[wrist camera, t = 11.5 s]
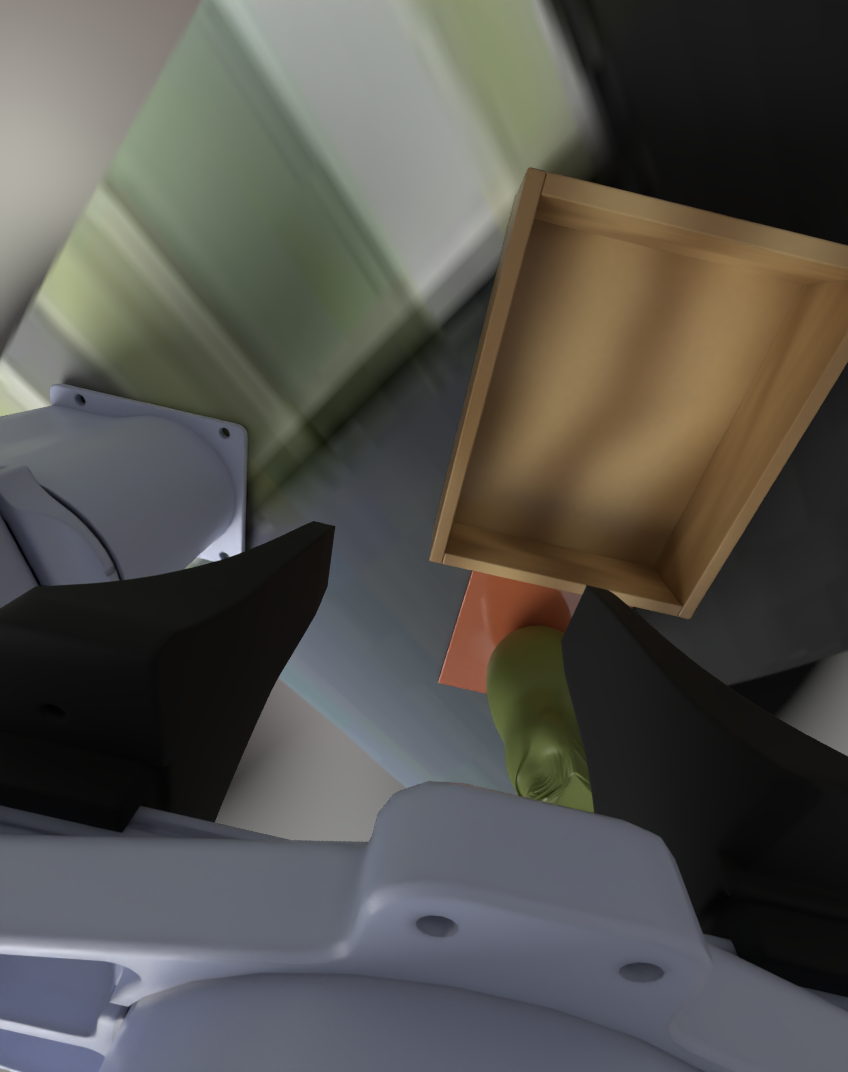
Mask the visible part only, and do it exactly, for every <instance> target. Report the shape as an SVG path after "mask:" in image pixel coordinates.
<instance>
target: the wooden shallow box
mask: <svg viewBox="0 0 848 1072" xmlns="http://www.w3.org/2000/svg"><path fill="white" fill-rule="evenodd" d="M847 362H848V245H844V244H840V243H836V242H832V241H828V240H824V239H820V238H816V237H812V236H808V235H803V234H799V233H795V232H791V231H787V230H783V229H779V228H775V227H771V226H767V225H763V224H759V223H755V222H751V221H747V220H743V219H739V218H735V217H730V216H726V215H722V214H718V213H714V212H710V211H706V210H702V209H698V208H694V207H690V206H686V205H682V204H678V203H674V202H670V201H666V200H661V199H657V198H653V197H649V196H645V195H641V194H637V193H633V192H629V191H625V190H621V189H617V188H613V187H609V186H605V185H601V184H597V183H593V182H588V181H584V180H580V179H576V178H572V177H568V176H564V175H560V174H556V173H552V172H547V174H546V172H545V171H544V170H539V169H535V168H531V167H529V168H528V169H527V171H526V173H525V176H524V178H523V180H522V183H521V185H520V187H519V189H518V192H517V194H516V196H515V199H514V203H513V207H512V211H511V215H510V219H509V223H508V227H507V231H506V235H505V239H504V243H503V247H502V251H501V255H500V260H499V264H498V268H497V272H496V276H495V280H494V284H493V288H492V292H491V296H490V300H489V304H488V308H487V312H486V316H485V320H484V324H483V328H482V333H481V337H480V341H479V345H478V349H477V353H476V357H475V361H474V365H473V369H472V373H471V377H470V381H469V385H468V389H467V393H466V397H465V402H464V406H463V410H462V414H461V418H460V422H459V426H458V430H457V434H456V438H455V442H454V446H453V450H452V454H451V458H450V462H449V466H448V470H447V475H446V479H445V483H444V487H443V491H442V495H441V499H440V503H439V507H438V511H437V515H436V519H435V523H434V529H433V536H432V544H431V551H430V558H429V560H430V561H433V562H438V563H443V564H446V565H451V566H455V567H460V568H464V569H469V570H473V571H477V572H482V573H486V574H491V575H495V576H500V577H504V578H509V579H513V580H517V581H522V582H526V583H531V584H535V585H540V586H544V587H549V588H553V589H558V590H562V591H566V592H571V593H575V594H580V595H582V594H583V592H584V590H585V588H586V585H589V586H594V587H598V588H602V589H606V590H609V591H610V592H612V593H613V594H615V595H616V596H617V597H619V598H620V599H621V600H622V601H623V602H625V603H626V604H627V605H629V606H633V607H638V608H642V609H647V610H651V611H655V612H660V613H664V614H669V615H673V616H678V617H682V618H687V619H690V618H691V617H692V615H693V613H694V612H695V610H696V608H697V607H698V605H699V604H700V602H701V600H702V599H703V597H704V595H705V594H706V592H707V591H708V589H709V587H710V586H711V584H712V582H713V581H714V579H715V578H716V576H717V574H718V573H719V571H720V569H721V568H722V566H723V564H724V563H725V561H726V560H727V558H728V556H729V555H730V553H731V551H732V550H733V548H734V547H735V545H736V543H737V542H738V540H739V538H740V537H741V535H742V534H743V532H744V530H745V529H746V527H747V525H748V524H749V522H750V520H751V519H752V517H753V516H754V514H755V512H756V511H757V509H758V507H759V506H760V504H761V503H762V501H763V499H764V498H765V496H766V494H767V493H768V491H769V490H770V488H771V486H772V485H773V483H774V481H775V480H776V478H777V476H778V475H779V473H780V472H781V470H782V468H783V467H784V465H785V463H786V462H787V460H788V459H789V457H790V455H791V454H792V452H793V450H794V449H795V447H796V446H797V444H798V442H799V441H800V439H801V437H802V436H803V434H804V432H805V431H806V429H807V428H808V426H809V424H810V423H811V421H812V419H813V418H814V416H815V415H816V413H817V411H818V410H819V408H820V406H821V405H822V403H823V402H824V400H825V398H826V397H827V395H828V393H829V392H830V390H831V388H832V387H833V385H834V384H835V382H836V380H837V379H838V377H839V375H840V374H841V372H842V371H843V369H844V367H845V366H846V364H847Z"/></svg>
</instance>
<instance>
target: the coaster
mask: <svg viewBox="0 0 848 1072" xmlns="http://www.w3.org/2000/svg"><path fill="white" fill-rule="evenodd" d="M581 596H582V595H580V594H575V593H571V592H566V591H562V590H558V589H553V588H549V587H544V586H540V585H535V584H531V583H526V582H522V581H517V580H513V579H509V578H504V577H500V576H495V575H491V574H486V573H482V572H477V571H473V570H472V571H471V574H470V577H469V581H468V584H467V587H466V591H465V594H464V597H463V600H462V604H461V607H460V610H459V613H458V617H457V620H456V623H455V626H454V630H453V633H452V636H451V639H450V643H449V646H448V649H447V652H446V656H445V659H444V662H443V665H442V669H441V672H440V675H439V679H438V683H441V684H445V685H450V686H455V687H459V688H464V689H468V690H473V691H477V692H482V693H487V690H486V673H487V667H488V663H489V659H490V657H491V655H492V653H493V651H494V649H495V648H496V646H497V645H498V644H499V642H500V641H501V640H502V639H503V638H504V637H506V636H507V635H508V634H510V633H511V632H513V631H515V630H517V629H520V628H523V627H527V626H535V625H539V626H547V627H551V628H554V629H557V630H559V631H561V632H563V633H565V631H566V629H567V627H568V625H569V622H570V620H571V618H572V616H573V614H574V612H575V609H576V607H577V605H578V603H579V601H580V598H581ZM628 606H629V605H628ZM629 607H630V608H633V606H629Z"/></svg>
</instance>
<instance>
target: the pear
mask: <svg viewBox="0 0 848 1072" xmlns="http://www.w3.org/2000/svg"><path fill="white" fill-rule="evenodd" d="M563 635H564V633H563V632H561V631H559V630H557V629H554V628H551V627H547V626H539V625H535V626H527V627H523V628H520V629H517V630H515V631H513V632H511V633H510V634H508V635H507V636H506V637H504V638H503V639H502V640H501V641H500V642H499V644H498V645H497V646H496V648H495V649H494V651H493V653H492V655H491V657H490V659H489V663H488V667H487V673H486V690H487V697H488V702H489V707H490V710H491V714H492V717H493V720H494V723H495V726H496V728H497V731H498V733H499V735H500V737H501V739H502V740H503V742H504V744H505V762H506V768H507V773H508V776H509V779H510V781H511V783H512V785H513V787H514V788H515V790H516V792H517V794H518V796H521V797H525V798H530V799H534V800H539V801H543V802H547V803H552V804H556V805H560V806H565V807H569V808H574V809H578V810H582V811H587V812H591V813H594V808H593V799H592V793H591V786H590V779H589V773H588V766H587V760H586V756H585V751H584V747H583V743H582V739H581V735H580V731H579V727H578V724H577V720H576V716H575V712H574V709H573V705H572V701H571V697H570V693H569V689H568V685H567V682H566V677H565V673H564V666H563V658H562V646H561V640H562V638H563Z"/></svg>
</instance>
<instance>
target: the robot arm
mask: <svg viewBox="0 0 848 1072" xmlns="http://www.w3.org/2000/svg"><path fill="white" fill-rule="evenodd" d="M81 396H83V397H84V399H85V401H86V402H85V403H84V402H83V401H82V399H81ZM50 397H51V403H52V406H48V407H43V408H39V409H34V410H29V411H24V412H20V413H15V414H10V415H6V416H1V417H0V1068H1V1069H5V1070H8V1071H11V1072H848V756H846V755H844V754H842V753H840V752H838V751H836V750H834V749H832V748H831V747H829V746H827V745H825V744H823V743H821V742H819V741H817V740H816V739H814V738H812V737H810V736H808V735H806V734H804V733H803V732H801V731H799V730H797V729H796V728H794V727H792V726H790V725H788V724H787V723H785V722H783V721H782V720H780V719H778V718H777V717H775V716H773V715H772V714H770V713H768V712H767V711H765V710H763V709H762V708H760V707H758V706H757V705H755V704H754V703H752V702H751V701H749V700H748V699H746V698H744V697H742V696H741V695H739V694H738V693H737V692H735V691H734V690H732V689H731V688H730V687H728V686H727V685H725V684H724V683H722V682H721V681H720V680H718V679H717V678H715V677H714V676H712V675H711V674H710V673H708V672H707V671H706V670H704V669H703V668H702V667H700V666H699V665H698V664H696V663H695V662H694V661H693V660H691V659H690V658H689V657H688V656H686V655H685V654H684V653H683V652H681V651H680V650H679V649H678V648H676V647H675V646H674V645H673V644H672V643H671V642H669V641H668V640H667V639H666V638H665V637H663V636H662V635H661V634H660V633H659V632H658V631H657V630H655V629H654V628H653V627H652V626H651V625H650V624H649V623H647V622H646V621H645V620H644V619H643V618H642V617H641V616H640V615H638V614H637V613H636V612H635V611H634V610H633V609H632V608H630V607H629V606H628V605H627V604H626V603H625V602H623V601H622V600H621V599H620V598H619V597H617V596H616V595H615V594H613V593H612V592H610V591H609V590H606V589H602V588H598V587H594V586H589V585H586V588H585V590H584V592H583V594H582V596H581V598H580V601H579V603H578V605H577V607H576V609H575V612H574V614H573V616H572V618H571V620H570V622H569V625H568V627H567V629H566V631H565V633H564V635H563V638H562V640H561V646H562V658H563V666H564V673H565V677H566V682H567V685H568V689H569V693H570V697H571V701H572V705H573V709H574V712H575V716H576V720H577V724H578V727H579V731H580V735H581V739H582V743H583V747H584V751H585V756H586V760H587V766H588V773H589V779H590V786H591V793H592V799H593V808H594V813H591V812H587V811H582V810H578V809H574V808H569V807H565V806H560V805H556V804H552V803H547V802H543V801H539V800H534V799H530V798H525V797H521V796H517V795H512V794H508V793H504V792H499V791H495V790H491V789H486V788H482V787H477V786H473V785H469V784H464V783H450V782H432V781H428V782H425V783H422V784H419V785H416V786H413V787H410V788H407V789H404V790H400V791H398V792H397V793H395V794H393V795H392V797H391V798H390V799H389V800H388V802H387V803H386V804H385V805H384V806H383V808H382V809H381V810H380V811H379V813H378V815H377V819H376V822H375V826H374V830H373V833H372V837H371V838H370V840H369V842H349V841H348V842H346V841H301V840H300V841H299V840H288V839H284V838H279V837H275V836H271V835H267V834H262V833H258V832H253V831H249V830H245V829H240V828H236V827H231V826H227V825H223V824H218V823H214V822H215V820H216V817H217V815H218V812H219V810H220V807H221V805H222V802H223V800H224V798H225V795H226V793H227V790H228V788H229V786H230V783H231V781H232V779H233V776H234V774H235V771H236V769H237V767H238V764H239V762H240V760H241V757H242V755H243V753H244V750H245V748H246V746H247V744H248V741H249V739H250V737H251V734H252V732H253V730H254V727H255V725H256V723H257V721H258V719H259V717H260V714H261V712H262V710H263V708H264V705H265V703H266V701H267V699H268V697H269V695H270V693H271V690H272V688H273V687H274V685H275V683H276V681H277V679H278V677H279V675H280V674H281V672H282V670H283V669H284V667H285V665H286V664H287V662H288V660H289V659H290V657H291V655H292V654H293V652H294V650H295V649H296V647H297V645H298V644H299V642H300V640H301V639H302V637H303V635H304V634H305V632H306V630H307V628H308V627H309V625H310V623H311V622H312V620H313V618H314V616H315V615H316V612H317V610H318V608H319V605H320V603H321V601H322V598H323V596H324V593H325V591H326V588H327V585H328V577H329V570H330V562H331V554H332V546H333V539H334V531H335V526H332V525H328V524H323V523H319V522H315V521H313V522H311V523H308V524H306V525H304V526H301V527H299V528H297V529H295V530H293V531H291V532H289V533H287V534H285V535H282V536H280V537H278V538H276V539H274V540H271V541H269V542H267V543H265V544H262V545H260V546H257V547H255V548H252V549H249V550H247V551H245V529H246V491H247V452H248V434H247V431H246V429H245V428H244V427H243V426H242V425H240V424H237V423H232V422H228V421H224V420H219V419H215V418H211V417H206V416H202V415H197V414H193V413H189V412H184V411H180V410H176V409H171V408H167V407H163V406H158V405H154V404H150V403H145V402H141V401H137V400H132V399H128V398H123V397H119V396H115V395H110V394H106V393H102V392H97V391H93V390H89V389H84V388H80V387H76V386H71V385H67V384H54V385H52V386H51V388H50ZM223 428H226V429H227V430H228V431H229V433H230V436H229V437H228V436H226V435H225V434H224V433H223ZM223 552H225V553H227V554H228V556H229V557H227V556H225V555H224V554H223ZM196 557H198V558H202V559H207V560H211V561H215V562H212V563H208V564H205V565H201V566H197V567H193V568H189V569H184V568H185V567H186V566H188V565H189V564H190V563H191V562H192V561H193V560H194V559H195V558H196ZM183 569H184V570H183Z"/></svg>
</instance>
